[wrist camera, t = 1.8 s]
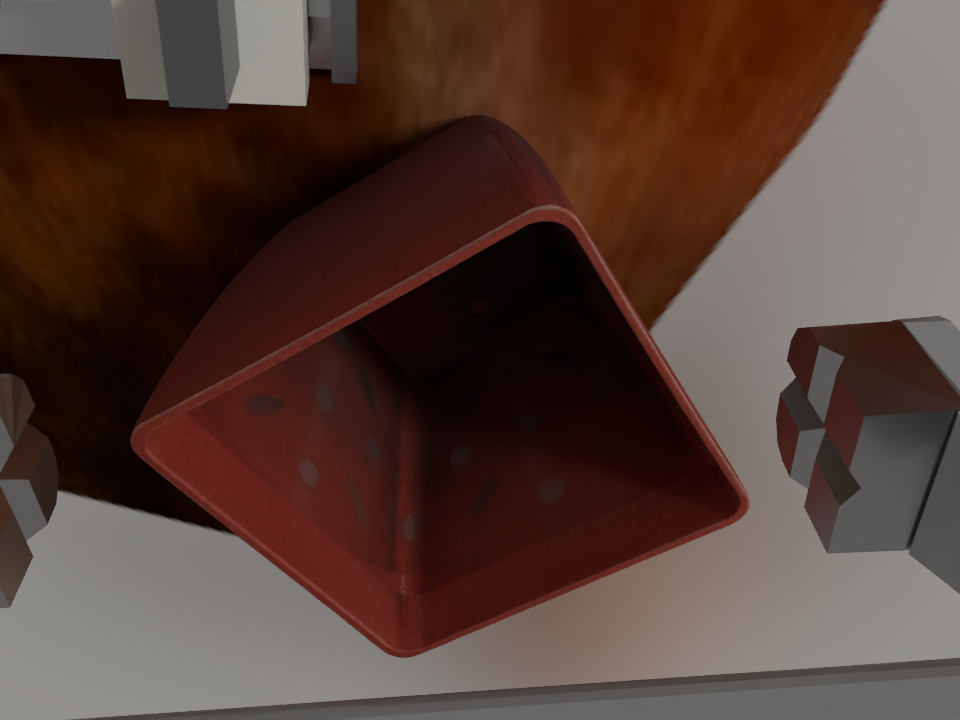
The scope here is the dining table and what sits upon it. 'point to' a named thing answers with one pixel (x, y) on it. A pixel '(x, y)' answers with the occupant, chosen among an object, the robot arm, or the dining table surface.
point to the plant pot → (437, 402)
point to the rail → (91, 34)
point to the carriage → (215, 51)
